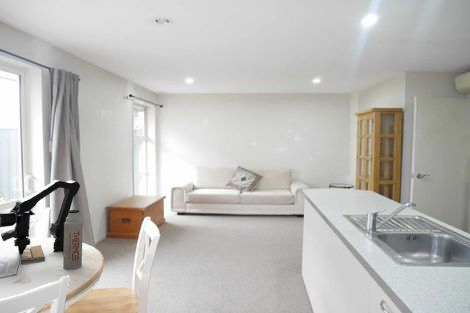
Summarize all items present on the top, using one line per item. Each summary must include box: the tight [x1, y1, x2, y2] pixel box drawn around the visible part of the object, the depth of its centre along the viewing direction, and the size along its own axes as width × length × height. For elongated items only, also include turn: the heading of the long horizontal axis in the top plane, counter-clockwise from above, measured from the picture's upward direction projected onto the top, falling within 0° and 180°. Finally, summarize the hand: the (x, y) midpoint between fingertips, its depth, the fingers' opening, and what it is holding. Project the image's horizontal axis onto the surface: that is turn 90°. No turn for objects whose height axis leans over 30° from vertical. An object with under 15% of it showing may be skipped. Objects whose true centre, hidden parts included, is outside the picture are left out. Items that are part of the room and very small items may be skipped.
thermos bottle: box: [62, 209, 84, 271], centre depth 143 cm, size 8×8×28 cm
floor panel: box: [18, 244, 46, 265], centre depth 154 cm, size 20×10×2 cm, turn 38°
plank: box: [19, 246, 32, 261], centre depth 152 cm, size 19×4×1 cm, turn 38°
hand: (20, 254), depth 149 cm, fingers closed, pressing on plank
